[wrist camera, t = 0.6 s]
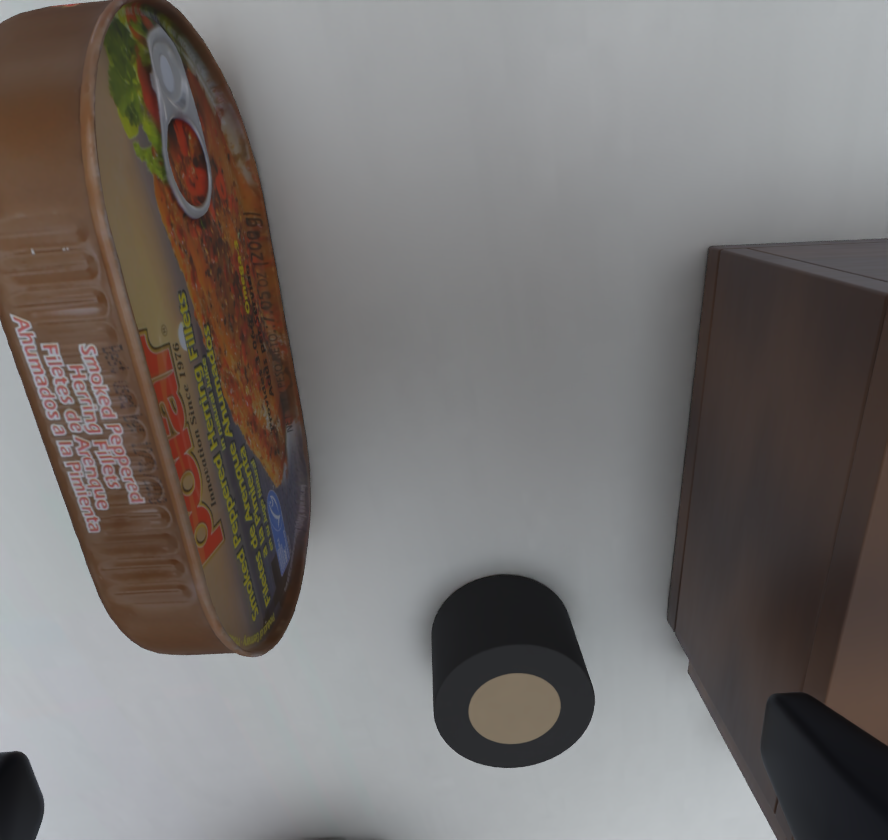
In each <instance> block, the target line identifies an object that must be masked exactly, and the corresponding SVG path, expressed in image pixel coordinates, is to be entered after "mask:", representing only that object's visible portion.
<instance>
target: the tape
mask: <svg viewBox="0 0 888 840" xmlns="http://www.w3.org/2000/svg"><path fill="white" fill-rule="evenodd" d="M432 671H433V707H434V719H435V723H436V726H437V729H438V731H439V733H440V735H441V736H442V738H443V739H444V740H445V742H446V743H447V744H448V745H449V746H450V747H451V748H452V749H453V750H454V751H456V752H457V753H458V754H460V755H461V756H463V757H465V758H467V759H469V760H471V761H474V762H476V763H479V764H483V765H487V766H492V767H501V768H516V767H525V766H530V765H534V764H538V763H541V762H544V761H546V760H549V759H551V758H553V757H555V756H557V755H559V754H561V753H562V752H564V751H565V750H567V749H568V748H570V747H571V746H572V745H573V744H574V743H575V742H576V741H577V740H578V739H579V738H580V737H581V736H582V734H583V733H584V732H585V730H586V729H587V727H588V725H589V723H590V721H591V718H592V715H593V711H594V705H595V695H594V690H593V686H592V683H591V680H590V677H589V674H588V671H587V668H586V665H585V662H584V659H583V656H582V653H581V650H580V647H579V644H578V641H577V639H576V636H575V633H574V630H573V627H572V624H571V621H570V618H569V615H568V612H567V610H566V608H565V606H564V604H563V602H562V601H561V600H560V599H559V597H558V596H557V595H556V594H555V593H553V592H552V591H551V590H550V589H548V588H547V587H545V586H544V585H542V584H540V583H538V582H536V581H533V580H530V579H527V578H523V577H518V576H493V577H488V578H483V579H480V580H477V581H474V582H472V583H470V584H467V585H465V586H464V587H462V588H460V589H459V590H457V591H456V592H455V593H454V594H452V595H451V596H450V597H449V598H448V599H447V600H446V601H445V602H444V604H443V605H442V606H441V608H440V609H439V611H438V613H437V615H436V617H435V620H434V623H433V627H432Z"/></svg>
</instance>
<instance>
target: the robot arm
mask: <svg viewBox="0 0 888 840" xmlns="http://www.w3.org/2000/svg"><path fill="white" fill-rule="evenodd" d="M760 751H761V757H762V760H763V764H764V766H765V769H766V771H767V774H768V776H769V779H770V781H771V783H772V786H773V788H774V791H775V793H776V796H777V798H778V800H779V803H780V805H781V808H782V810H783V813H784V815H785V817H786V820H787V822H788V825H789V827H790V830H791V832H792V834H793V837H794V839H795V840H888V746H887V745H886V744H884V743H883V742H881V741H879V740H878V739H876V738H875V737H873V736H872V735H870V734H869V733H867V732H866V731H864V730H863V729H861V728H860V727H858V726H857V725H855V724H854V723H852V722H851V721H849V720H848V719H846V718H845V717H843V716H842V715H840V714H838V713H837V712H835V711H834V710H832V709H831V708H829V707H828V706H826V705H825V704H823V703H822V702H820V701H819V700H817V699H816V698H814V697H813V696H811V695H809V694H807V693H804V692H788V693H775V694H772V695H771V696H770V697H769V698H768V700H767V703H766V709H765V715H764V721H763V728H762V734H761V740H760ZM43 814H44V799H43V795H42V793H41V790H40V787H39V785H38V782H37V780H36V777H35V775H34V772H33V769H32V767H31V764H30V762H29V759H28V758H27V756H26V755H25V754H23V753H22V752H18V751H14V752H1V753H0V840H35V839H36V836H37V834H38V831H39V828H40V825H41V822H42V819H43Z"/></svg>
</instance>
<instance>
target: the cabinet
mask: <svg viewBox="0 0 888 840" xmlns="http://www.w3.org/2000/svg"><path fill="white" fill-rule="evenodd" d="M667 620H668V622H669V624H670V626H671V628H672V629H673V631H674V632H675V635H676V637H677V639H678V641H679V642H680V644H681V646H682V648H683V650H684V651H685V653H686V655H687V657H688V659H689V661H690V662H691V664H692V666H693V668H694V670H695V671H696V673H697V675H698V677H699V679H700V680H701V682H702V684H703V686H704V688H705V690H706V691H707V693H708V695H709V697H710V699H711V700H712V702H713V704H714V706H715V708H716V709H717V711H718V713H719V715H720V717H721V719H722V720H723V722H724V724H725V726H726V728H727V729H728V731H729V733H730V735H731V737H732V739H733V740H734V742H735V744H736V746H737V748H738V749H739V751H740V753H741V755H742V757H743V758H744V760H745V762H746V764H747V766H748V768H749V769H750V771H751V773H752V775H753V777H754V778H755V780H756V782H757V784H758V786H759V787H760V789H761V791H762V793H763V795H764V797H765V798H766V800H767V802H768V804H769V806H770V807H771V809H772V811H773V813H774V814H775V817H776V819H777V821H778V823H779V825H780V827H781V828H782V830H783V832H784V834H785V836H786V837H787V839H788V840H795V839H794V837H793V834H792V832H791V830H790V827H789V825H788V822H787V820H786V817H785V815H784V813H783V810H782V808H781V805H780V803H779V800H778V798H777V796H776V793H775V791H774V788H773V786H772V783H771V781H770V779H769V776H768V774H767V771H766V769H765V766H764V764H763V760H762V757H761V751H760V740H761V734H762V728H763V721H764V715H765V709H766V703H767V700H768V698H769V697H770V696H771V695H772V694H775V693H788V692H804V693H807V694H809V695H811V696H813V697H814V698H816V699H817V700H819V701H820V702H822V703H823V704H825V705H826V706H828V707H829V708H831V709H832V710H834V711H835V712H837V713H838V714H840V715H842V716H843V717H845V718H846V719H848V720H849V721H851V722H852V723H854V724H855V725H857V726H858V727H860V728H861V729H863V730H864V731H866V732H867V733H869V734H870V735H872V736H873V737H875V738H876V739H878V740H879V741H881V742H883V743H884V744H886V745H887V746H888V239H867V240H843V241H820V242H796V243H773V244H750V245H726V246H711V247H709V251H708V260H707V269H706V278H705V287H704V296H703V305H702V314H701V322H700V331H699V340H698V349H697V358H696V367H695V376H694V385H693V393H692V402H691V411H690V420H689V429H688V438H687V447H686V456H685V464H684V473H683V482H682V491H681V500H680V509H679V518H678V527H677V535H676V544H675V553H674V562H673V571H672V580H671V589H670V597H669V606H668V615H667Z"/></svg>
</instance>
